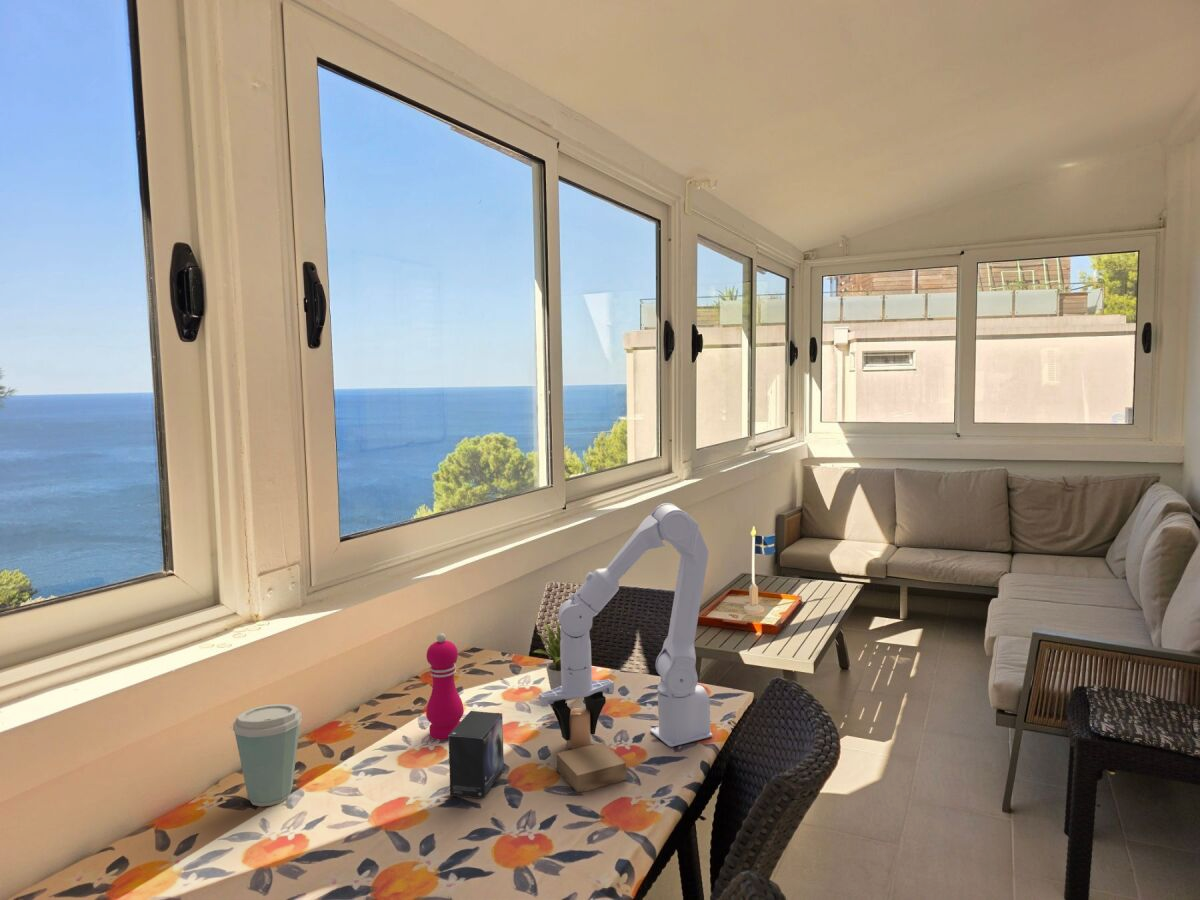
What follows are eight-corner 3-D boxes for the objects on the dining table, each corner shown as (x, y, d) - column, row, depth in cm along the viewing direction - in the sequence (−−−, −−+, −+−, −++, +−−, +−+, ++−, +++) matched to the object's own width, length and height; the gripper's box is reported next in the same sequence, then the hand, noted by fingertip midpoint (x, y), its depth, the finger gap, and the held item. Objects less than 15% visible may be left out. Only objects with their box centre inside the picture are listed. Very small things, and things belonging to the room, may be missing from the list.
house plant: (596, 707, 165) (594, 631, 164) (530, 709, 165) (527, 633, 164) (597, 682, 179) (595, 611, 178) (536, 683, 179) (534, 613, 178)
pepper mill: (419, 738, 153) (414, 637, 151) (440, 723, 159) (436, 626, 158) (451, 743, 150) (446, 641, 148) (471, 728, 157) (467, 629, 155)
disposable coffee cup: (238, 789, 135) (232, 704, 134) (305, 776, 139) (300, 693, 138) (236, 820, 125) (230, 728, 124) (308, 804, 129) (303, 715, 128)
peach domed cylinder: (584, 736, 151) (583, 706, 151) (595, 745, 147) (594, 714, 147) (562, 741, 149) (561, 711, 149) (572, 751, 145) (571, 719, 145)
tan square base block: (603, 758, 142) (602, 742, 142) (626, 779, 134) (625, 762, 134) (557, 769, 138) (556, 753, 138) (577, 792, 130) (577, 775, 130)
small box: (486, 800, 129) (483, 737, 128) (448, 797, 130) (445, 735, 130) (506, 769, 139) (504, 711, 139) (471, 766, 141) (469, 709, 140)
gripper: (601, 652, 154) (604, 719, 155) (532, 665, 148) (534, 735, 149) (618, 662, 147) (620, 733, 149) (545, 677, 141) (548, 750, 142)
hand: (578, 735), depth 148 cm, fingers closed on peach domed cylinder, 5 cm apart
